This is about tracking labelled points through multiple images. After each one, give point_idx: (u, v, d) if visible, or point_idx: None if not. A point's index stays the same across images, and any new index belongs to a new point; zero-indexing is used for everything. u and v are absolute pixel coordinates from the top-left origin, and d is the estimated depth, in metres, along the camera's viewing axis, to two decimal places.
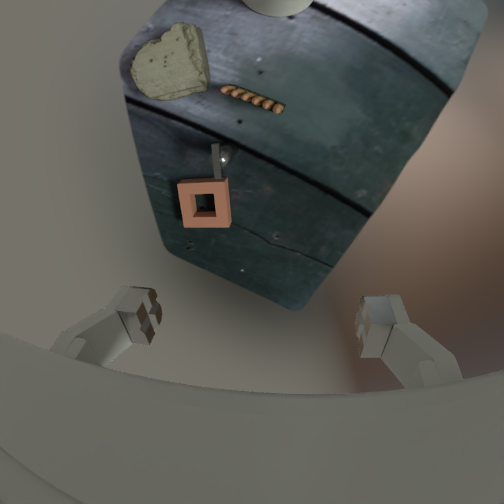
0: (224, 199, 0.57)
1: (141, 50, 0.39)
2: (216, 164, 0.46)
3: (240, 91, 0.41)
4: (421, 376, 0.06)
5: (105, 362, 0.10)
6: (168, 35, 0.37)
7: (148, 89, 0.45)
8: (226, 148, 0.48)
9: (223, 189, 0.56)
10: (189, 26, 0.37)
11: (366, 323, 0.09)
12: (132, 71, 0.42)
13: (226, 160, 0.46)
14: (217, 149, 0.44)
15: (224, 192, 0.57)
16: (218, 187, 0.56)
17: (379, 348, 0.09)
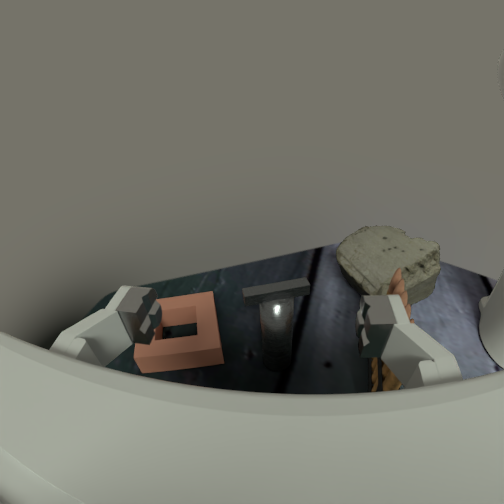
0: (186, 350, 0.30)
1: (392, 228, 0.41)
2: (270, 287, 0.26)
3: None
4: (421, 376, 0.06)
5: (105, 362, 0.10)
6: (421, 241, 0.37)
7: (347, 245, 0.42)
8: (292, 324, 0.28)
9: (205, 347, 0.30)
10: (437, 263, 0.35)
11: (366, 323, 0.09)
12: (364, 228, 0.44)
13: (279, 305, 0.25)
14: (300, 285, 0.26)
15: (200, 349, 0.30)
16: (209, 340, 0.31)
17: (379, 348, 0.09)
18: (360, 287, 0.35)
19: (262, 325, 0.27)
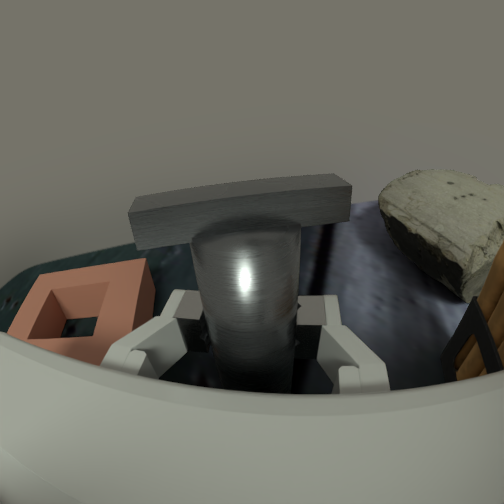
0: None
1: (456, 172, 0.23)
2: (222, 189, 0.08)
3: None
4: (339, 382, 0.07)
5: (159, 374, 0.09)
6: None
7: (395, 191, 0.23)
8: (295, 320, 0.09)
9: (98, 364, 0.12)
10: None
11: (296, 323, 0.09)
12: (415, 172, 0.25)
13: (251, 247, 0.07)
14: (320, 184, 0.08)
15: None
16: None
17: (312, 349, 0.09)
18: (433, 253, 0.16)
19: (206, 321, 0.09)
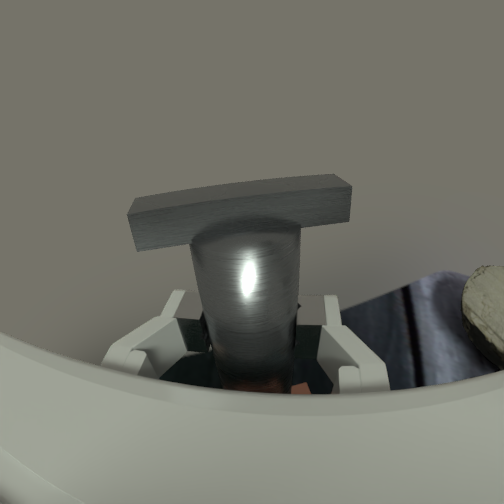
0: None
1: None
2: (221, 190, 0.08)
3: None
4: (339, 382, 0.07)
5: (159, 374, 0.09)
6: None
7: (472, 295, 0.26)
8: (295, 320, 0.09)
9: None
10: None
11: (296, 323, 0.09)
12: (481, 269, 0.28)
13: (250, 249, 0.07)
14: (320, 184, 0.08)
15: None
16: None
17: (312, 349, 0.09)
18: (499, 355, 0.19)
19: (206, 322, 0.09)
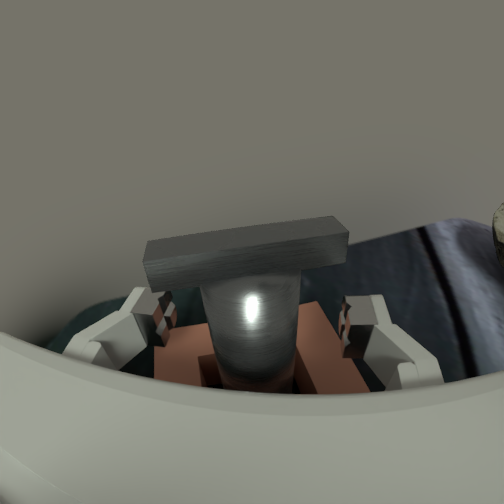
0: None
1: None
2: (228, 237, 0.08)
3: None
4: (399, 378, 0.06)
5: (119, 365, 0.09)
6: None
7: (503, 224, 0.20)
8: (295, 347, 0.10)
9: None
10: None
11: (347, 323, 0.09)
12: None
13: (256, 294, 0.08)
14: (319, 231, 0.08)
15: None
16: None
17: (361, 349, 0.09)
18: None
19: (214, 349, 0.10)
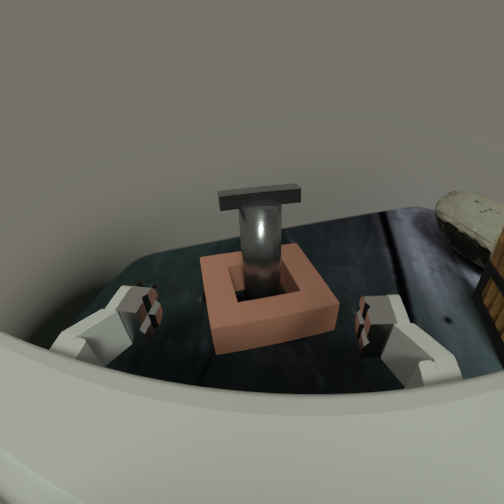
0: (293, 310, 0.21)
1: (479, 193, 0.32)
2: (252, 189, 0.21)
3: None
4: (421, 376, 0.06)
5: (105, 362, 0.10)
6: None
7: (444, 206, 0.33)
8: (280, 244, 0.23)
9: (319, 304, 0.22)
10: None
11: (366, 323, 0.09)
12: (453, 192, 0.35)
13: (263, 209, 0.20)
14: (288, 188, 0.21)
15: (312, 308, 0.21)
16: (320, 296, 0.23)
17: (379, 348, 0.09)
18: (473, 244, 0.26)
19: (242, 244, 0.22)
